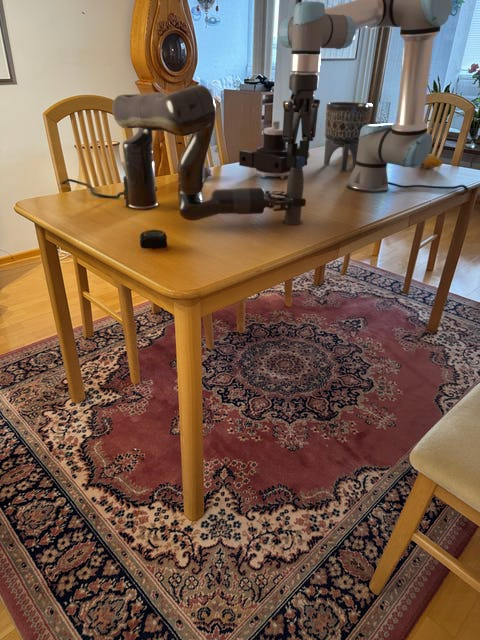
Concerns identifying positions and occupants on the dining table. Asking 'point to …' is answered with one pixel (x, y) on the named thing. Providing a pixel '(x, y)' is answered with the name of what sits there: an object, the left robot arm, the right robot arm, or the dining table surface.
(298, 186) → the bottle
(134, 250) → the dining table surface
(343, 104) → the planter
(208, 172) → the rock
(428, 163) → the toy
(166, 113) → the left robot arm
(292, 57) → the right robot arm
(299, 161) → the cap
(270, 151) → the mechanical component
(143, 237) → the tape measure
